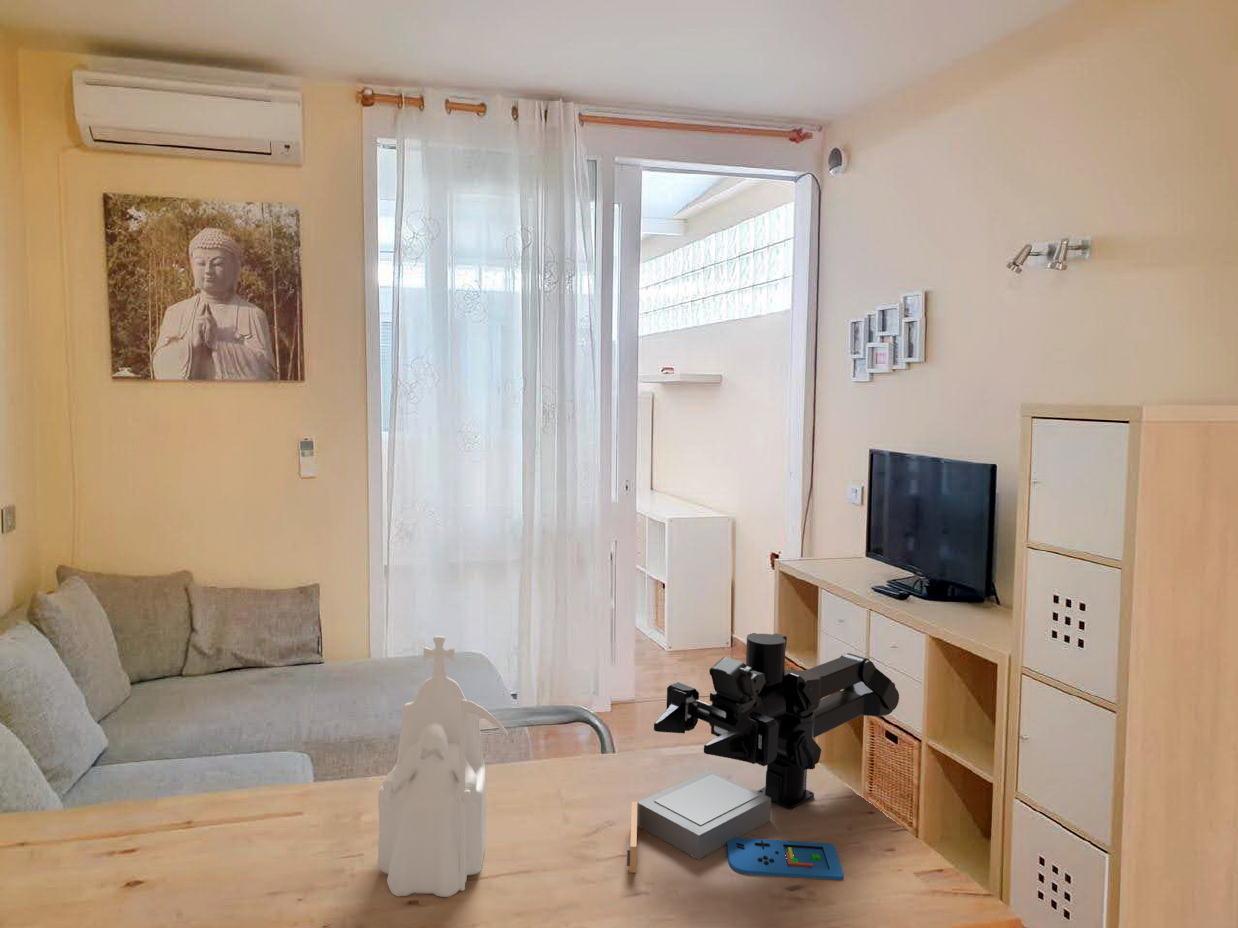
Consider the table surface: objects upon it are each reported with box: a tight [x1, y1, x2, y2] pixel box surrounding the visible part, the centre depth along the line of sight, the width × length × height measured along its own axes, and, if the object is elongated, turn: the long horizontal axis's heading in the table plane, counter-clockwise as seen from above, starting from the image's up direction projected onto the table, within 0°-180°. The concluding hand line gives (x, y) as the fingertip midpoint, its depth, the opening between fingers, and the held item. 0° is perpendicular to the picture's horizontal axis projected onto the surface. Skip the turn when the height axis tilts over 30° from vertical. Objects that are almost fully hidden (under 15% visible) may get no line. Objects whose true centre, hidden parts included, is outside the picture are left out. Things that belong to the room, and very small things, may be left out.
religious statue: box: [377, 635, 509, 898], centre depth 114 cm, size 17×14×30 cm
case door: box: [626, 801, 638, 873], centre depth 122 cm, size 1×12×4 cm, turn 178°
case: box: [636, 769, 772, 860], centre depth 129 cm, size 16×12×4 cm
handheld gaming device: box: [726, 837, 845, 881], centre depth 120 cm, size 8×1×15 cm
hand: (679, 738), depth 119 cm, fingers open, 9 cm apart
